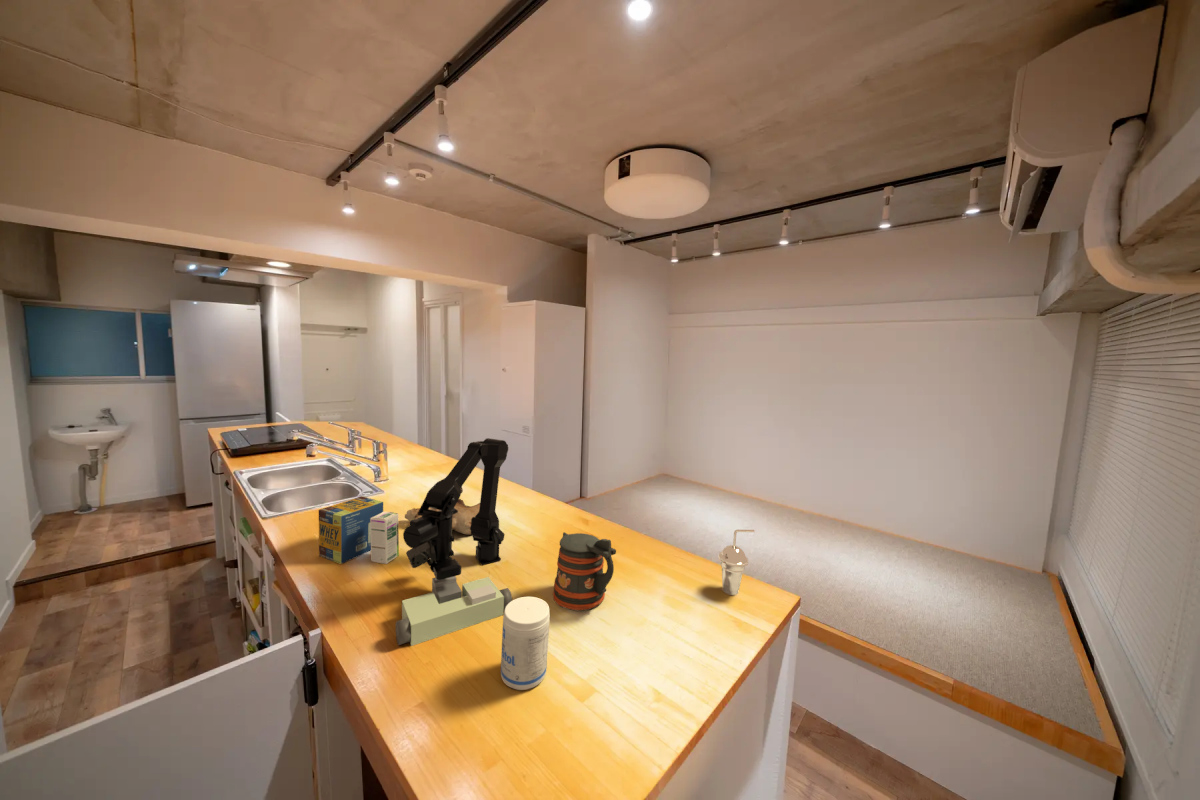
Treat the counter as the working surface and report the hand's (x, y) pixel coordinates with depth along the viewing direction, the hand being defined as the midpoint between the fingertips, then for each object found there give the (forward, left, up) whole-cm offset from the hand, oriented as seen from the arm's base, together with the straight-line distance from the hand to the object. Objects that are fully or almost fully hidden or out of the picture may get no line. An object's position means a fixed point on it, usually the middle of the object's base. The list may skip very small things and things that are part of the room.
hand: (440, 586), depth 113 cm
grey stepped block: (0, +7, -2) cm, 7 cm away
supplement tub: (-7, +39, -2) cm, 40 cm away
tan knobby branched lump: (-14, -42, -2) cm, 45 cm away
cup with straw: (-73, +42, -2) cm, 84 cm away
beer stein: (-33, +23, -2) cm, 41 cm away
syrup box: (+10, -28, -2) cm, 29 cm away
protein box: (+18, -39, -2) cm, 43 cm away
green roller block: (0, +13, -2) cm, 13 cm away
